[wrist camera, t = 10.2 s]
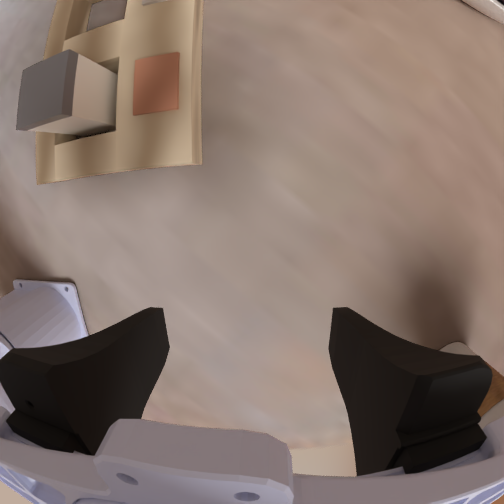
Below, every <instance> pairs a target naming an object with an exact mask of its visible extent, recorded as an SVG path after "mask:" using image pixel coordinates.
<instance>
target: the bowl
mask: <svg viewBox="0 0 504 504" xmlns="http://www.w3.org/2000/svg"><path fill="white" fill-rule="evenodd" d="M462 1H463V2H465V3H467V4H468V5H470V6H471V7H473V8H475V9H476V10H478V11H479V12H481V13H483V14H485V15H486V16H488V17H490V18H492V19H494V20H496V21H498V22H500V23H502V24H504V0H462Z"/></svg>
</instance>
